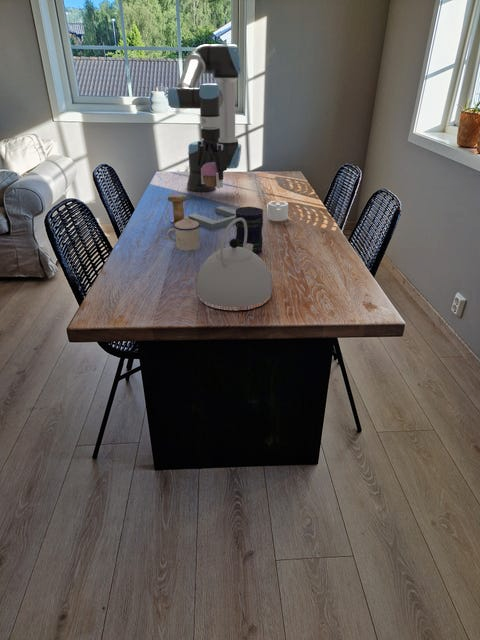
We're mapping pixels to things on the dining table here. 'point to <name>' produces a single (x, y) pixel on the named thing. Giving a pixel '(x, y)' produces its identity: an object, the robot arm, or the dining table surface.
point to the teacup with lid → (186, 234)
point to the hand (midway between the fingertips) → (212, 185)
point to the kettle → (234, 275)
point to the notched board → (212, 223)
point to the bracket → (277, 211)
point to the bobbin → (177, 206)
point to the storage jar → (250, 227)
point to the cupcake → (209, 174)
